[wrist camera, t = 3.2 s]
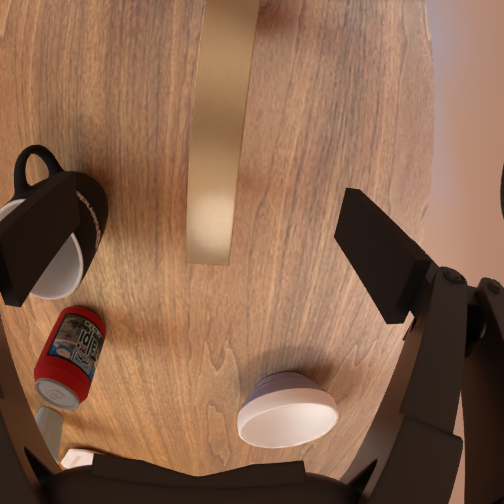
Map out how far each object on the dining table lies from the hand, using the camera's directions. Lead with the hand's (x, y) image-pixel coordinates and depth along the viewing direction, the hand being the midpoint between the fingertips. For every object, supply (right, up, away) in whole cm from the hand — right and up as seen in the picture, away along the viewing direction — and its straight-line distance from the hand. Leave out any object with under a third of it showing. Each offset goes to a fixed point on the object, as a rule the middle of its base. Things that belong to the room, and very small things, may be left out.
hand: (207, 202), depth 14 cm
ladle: (-1, +12, +10) cm, 16 cm away
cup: (-39, -35, +34) cm, 63 cm away
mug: (-16, +4, +13) cm, 21 cm away
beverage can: (-20, -11, +22) cm, 32 cm away
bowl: (+7, -23, +32) cm, 40 cm away
